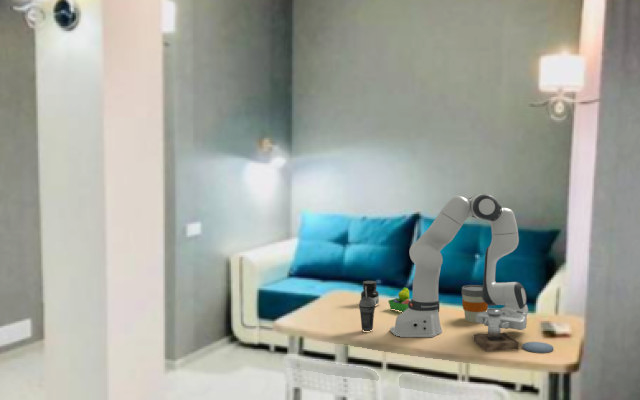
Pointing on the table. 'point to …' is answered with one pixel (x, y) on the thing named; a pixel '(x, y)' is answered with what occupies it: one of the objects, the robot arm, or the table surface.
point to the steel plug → (494, 324)
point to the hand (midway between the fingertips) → (493, 325)
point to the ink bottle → (370, 291)
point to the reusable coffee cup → (473, 302)
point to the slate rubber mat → (537, 347)
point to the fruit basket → (400, 301)
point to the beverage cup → (367, 312)
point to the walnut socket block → (495, 342)
